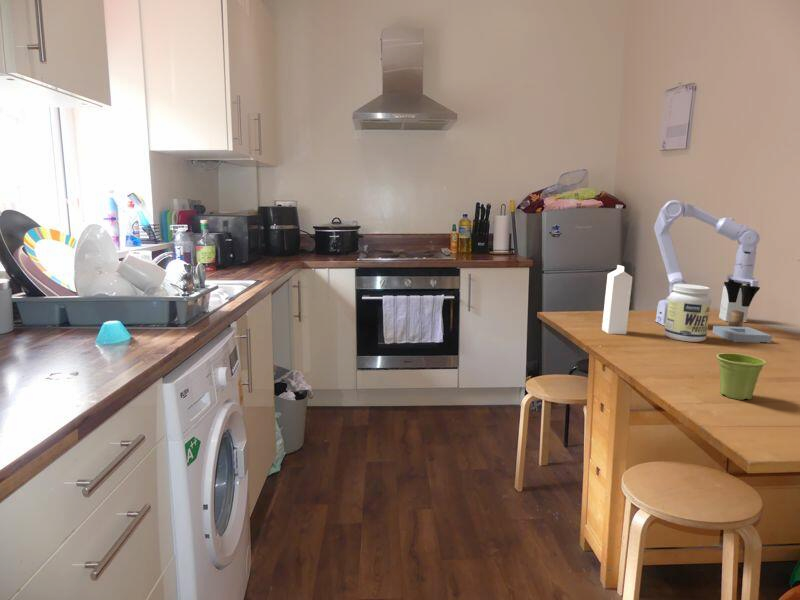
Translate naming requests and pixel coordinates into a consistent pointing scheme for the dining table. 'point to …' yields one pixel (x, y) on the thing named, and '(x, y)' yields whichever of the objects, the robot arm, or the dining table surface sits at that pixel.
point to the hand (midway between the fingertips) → (738, 304)
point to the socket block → (741, 334)
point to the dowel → (736, 318)
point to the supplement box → (731, 306)
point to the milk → (617, 301)
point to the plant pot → (738, 374)
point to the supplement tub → (688, 313)
